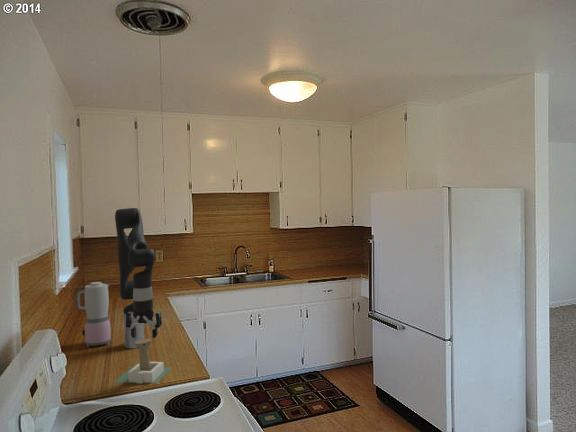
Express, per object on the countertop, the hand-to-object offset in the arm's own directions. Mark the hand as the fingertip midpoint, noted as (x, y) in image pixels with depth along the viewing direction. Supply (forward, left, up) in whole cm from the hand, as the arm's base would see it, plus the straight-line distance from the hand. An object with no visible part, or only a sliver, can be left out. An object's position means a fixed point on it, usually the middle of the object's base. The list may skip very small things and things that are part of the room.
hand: (144, 337), depth 170 cm
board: (-3, -2, -18) cm, 18 cm away
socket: (-1, 0, -17) cm, 17 cm away
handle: (0, 0, -17) cm, 17 cm away
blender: (-41, -47, -18) cm, 65 cm away
